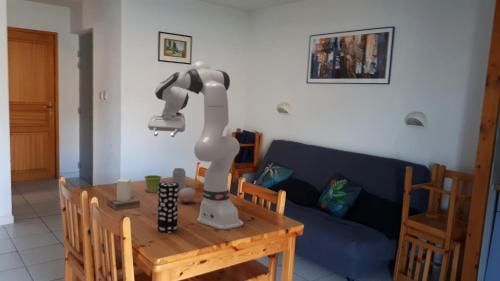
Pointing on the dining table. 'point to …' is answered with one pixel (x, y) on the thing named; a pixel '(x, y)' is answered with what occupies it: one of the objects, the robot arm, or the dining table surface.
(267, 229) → the dining table surface
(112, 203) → the base
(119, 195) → the block
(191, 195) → the decorative fruit
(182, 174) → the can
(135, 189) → the dining table surface
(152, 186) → the plant pot
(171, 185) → the spotted tube
